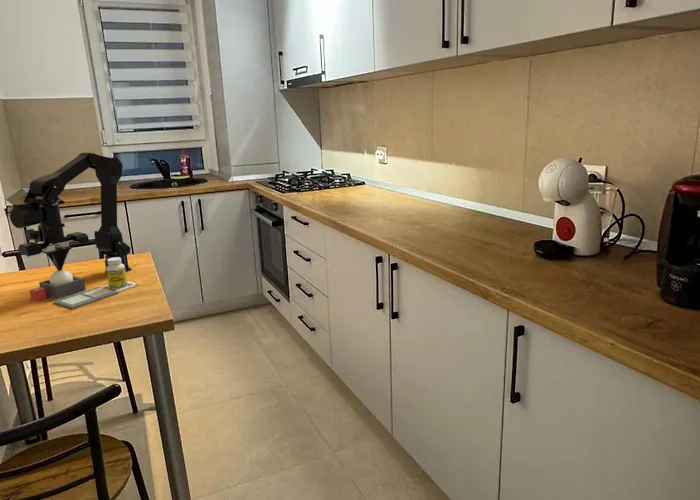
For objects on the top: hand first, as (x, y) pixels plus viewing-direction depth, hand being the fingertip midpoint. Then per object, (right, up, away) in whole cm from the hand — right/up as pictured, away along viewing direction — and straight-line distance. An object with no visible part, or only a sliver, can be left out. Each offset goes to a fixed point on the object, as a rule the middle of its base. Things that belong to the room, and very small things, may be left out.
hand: (59, 270), depth 158 cm
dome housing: (-1, -7, 0) cm, 7 cm away
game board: (+12, -7, -1) cm, 15 cm away
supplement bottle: (+16, -6, +5) cm, 18 cm away
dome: (0, -6, +2) cm, 6 cm away
